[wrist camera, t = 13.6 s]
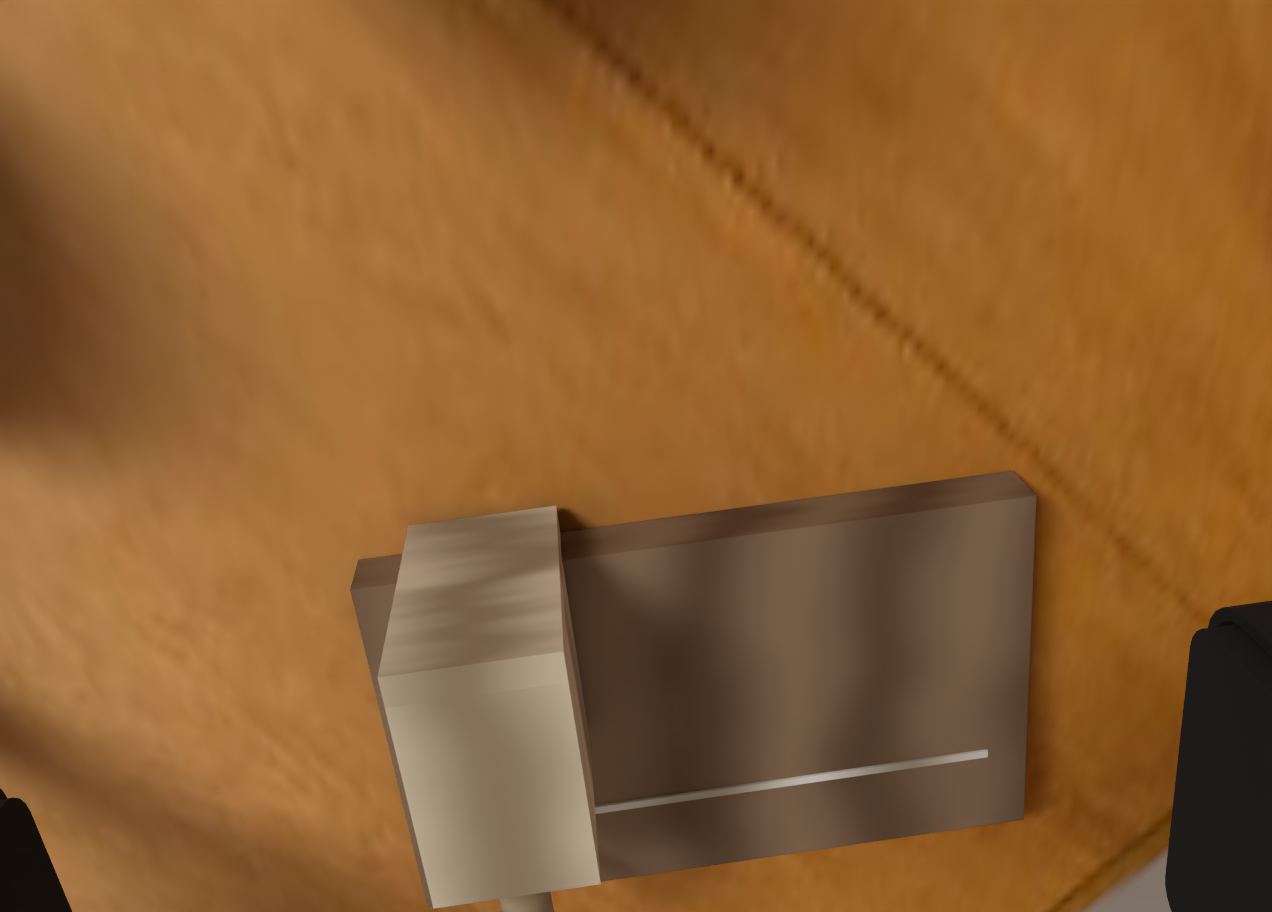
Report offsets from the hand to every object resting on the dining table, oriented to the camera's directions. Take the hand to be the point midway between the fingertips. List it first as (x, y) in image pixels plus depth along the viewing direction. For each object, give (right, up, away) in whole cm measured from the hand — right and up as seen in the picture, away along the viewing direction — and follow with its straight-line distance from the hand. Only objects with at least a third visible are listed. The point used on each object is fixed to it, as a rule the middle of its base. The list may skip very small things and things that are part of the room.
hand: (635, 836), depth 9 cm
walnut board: (+3, -5, +34) cm, 34 cm away
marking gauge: (-4, -5, +32) cm, 33 cm away
